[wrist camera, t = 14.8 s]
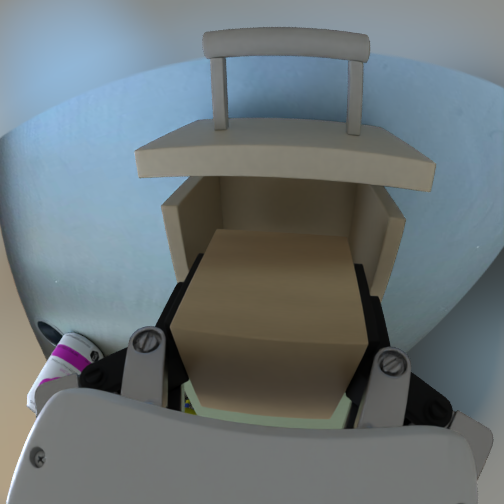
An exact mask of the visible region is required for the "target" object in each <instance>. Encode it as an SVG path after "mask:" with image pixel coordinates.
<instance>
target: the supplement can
mask: <svg viewBox="0 0 504 504" xmlns="http://www.w3.org/2000/svg"><path fill="white" fill-rule="evenodd" d="M102 358H104V357H103V354H102V353H101V351H100V350H99V349H98V348H97V347H96V346H95V345H94V344H93V343H92V342H91V341H89V340H88V339H87V338H85V337H83V336H81V335H79V334H77V333H66V334H65V335H64V336H63V337H62V339H61V340H60V342H59V343H58V345H57V347H56V348H55V350H54V351H53V353H52V354H51V356H50V358H49V359H48V361H47V362H46V364H45V366H44V367H43V369H42V371H41V372H40V374H39V376H38V377H37V379H36V381H35V383H34V384H33V386H32V388H31V390H30V391H29V393H28V395H27V407H28V408H29V409H30V410H32V411H33V412H34V413H35V414H36V411H35V399H34V396H35V391H36V389H37V387H38V386H39V385H40V384H42V383H44V382H48V381H51V380H54V379H57V378H61V377H64V376H67V375H70V374H73V373H76V372H77V374H78V375H79V374H81V372H82V370H83V369H84V368H85V367H86V366H87V365H89V364H91V363H93V362H95V361H97V360H100V359H102Z"/></svg>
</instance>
